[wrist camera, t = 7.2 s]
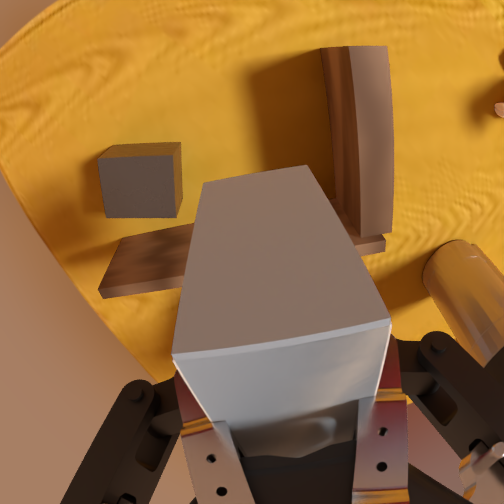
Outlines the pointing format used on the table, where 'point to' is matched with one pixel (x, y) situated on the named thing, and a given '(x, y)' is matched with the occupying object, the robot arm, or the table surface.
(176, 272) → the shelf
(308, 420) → the light grey block
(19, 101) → the table surface
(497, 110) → the seated beast figurine
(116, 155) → the dark grey block
